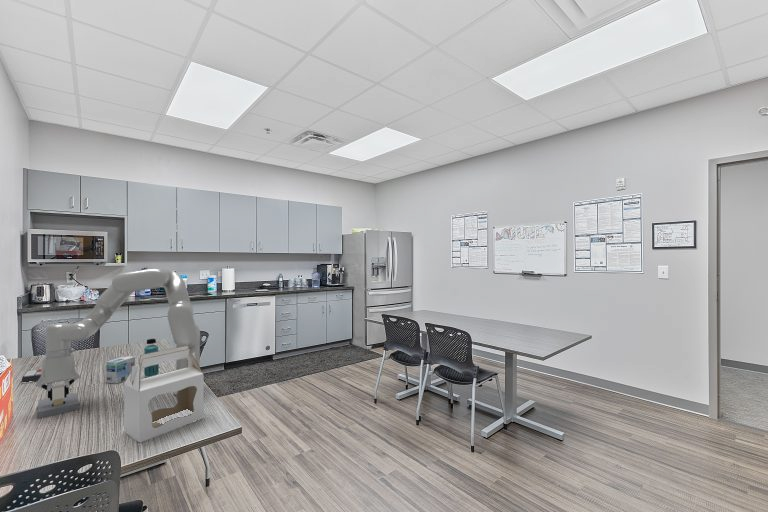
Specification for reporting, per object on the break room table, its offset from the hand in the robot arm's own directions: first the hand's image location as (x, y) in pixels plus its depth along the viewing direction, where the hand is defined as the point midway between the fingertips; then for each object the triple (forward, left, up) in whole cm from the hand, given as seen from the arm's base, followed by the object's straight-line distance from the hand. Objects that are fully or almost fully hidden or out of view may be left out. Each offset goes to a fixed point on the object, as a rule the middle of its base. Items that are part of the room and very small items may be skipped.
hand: (58, 397), depth 143 cm
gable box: (-47, -28, -5) cm, 55 cm away
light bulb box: (+26, -24, -5) cm, 36 cm away
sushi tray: (+60, +4, -6) cm, 60 cm away
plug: (0, 0, -3) cm, 3 cm away
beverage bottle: (+19, -36, -5) cm, 41 cm away
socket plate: (+3, 0, -5) cm, 6 cm away
